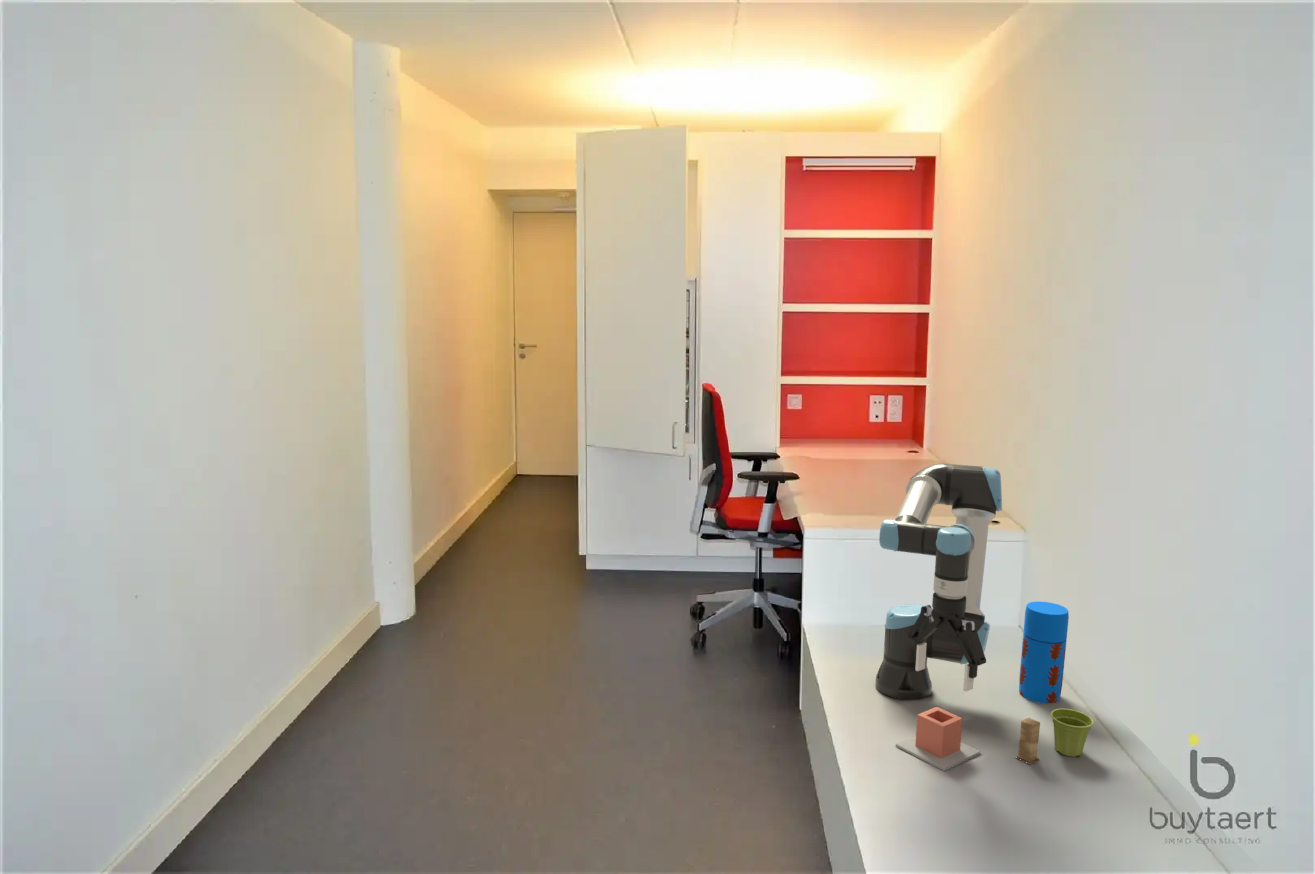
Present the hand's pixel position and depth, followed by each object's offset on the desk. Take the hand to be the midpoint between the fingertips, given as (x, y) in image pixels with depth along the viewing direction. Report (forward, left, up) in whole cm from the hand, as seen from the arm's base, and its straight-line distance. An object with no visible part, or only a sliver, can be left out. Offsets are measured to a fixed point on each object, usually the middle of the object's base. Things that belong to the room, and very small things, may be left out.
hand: (943, 679), depth 219 cm
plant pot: (+19, +26, -18) cm, 36 cm away
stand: (+15, +13, -18) cm, 27 cm away
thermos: (-3, +49, -18) cm, 52 cm away
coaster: (0, 0, -18) cm, 18 cm away
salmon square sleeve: (0, -1, -17) cm, 17 cm away
